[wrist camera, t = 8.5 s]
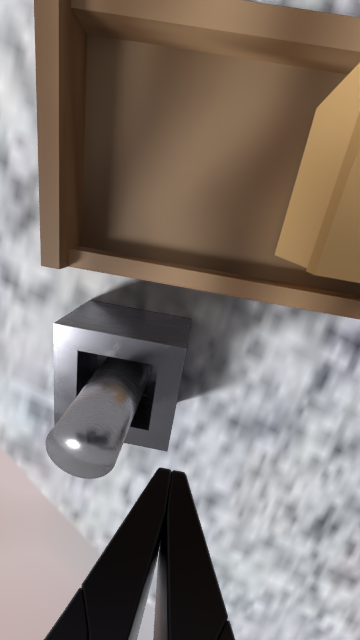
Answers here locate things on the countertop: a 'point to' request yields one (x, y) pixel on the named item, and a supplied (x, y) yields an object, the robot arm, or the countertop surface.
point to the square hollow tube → (130, 344)
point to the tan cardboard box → (328, 190)
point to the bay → (184, 140)
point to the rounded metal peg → (98, 419)
